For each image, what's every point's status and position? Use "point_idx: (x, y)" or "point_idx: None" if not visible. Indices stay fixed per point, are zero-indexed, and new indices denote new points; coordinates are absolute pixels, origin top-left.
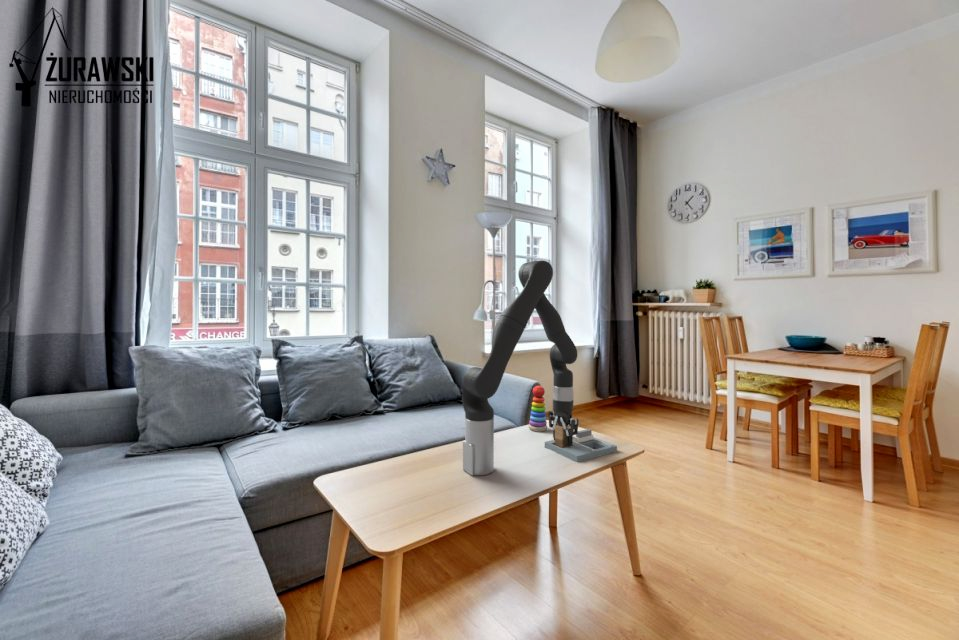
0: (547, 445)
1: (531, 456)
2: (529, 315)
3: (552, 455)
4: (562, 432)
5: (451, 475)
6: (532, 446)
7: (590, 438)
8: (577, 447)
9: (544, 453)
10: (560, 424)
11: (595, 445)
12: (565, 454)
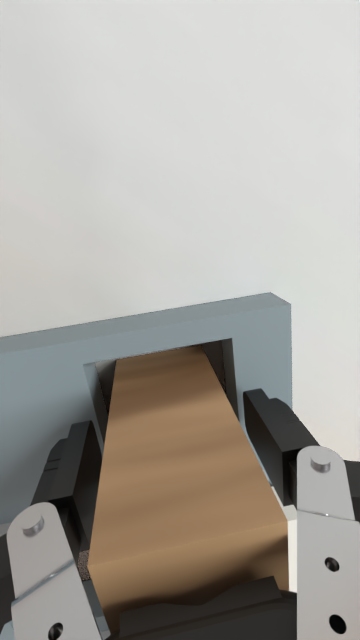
0: (242, 304)
1: (123, 30)
2: None
3: (81, 251)
4: (98, 494)
5: None
6: (333, 206)
7: None
8: None
9: (148, 211)
10: (208, 609)
11: None
12: (10, 341)
